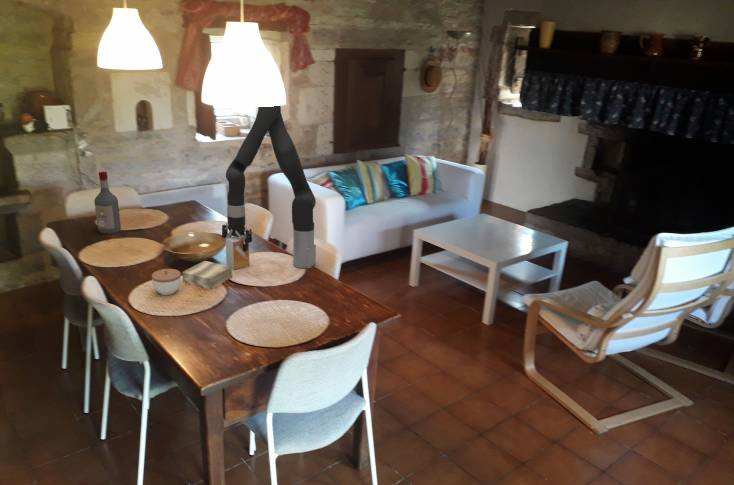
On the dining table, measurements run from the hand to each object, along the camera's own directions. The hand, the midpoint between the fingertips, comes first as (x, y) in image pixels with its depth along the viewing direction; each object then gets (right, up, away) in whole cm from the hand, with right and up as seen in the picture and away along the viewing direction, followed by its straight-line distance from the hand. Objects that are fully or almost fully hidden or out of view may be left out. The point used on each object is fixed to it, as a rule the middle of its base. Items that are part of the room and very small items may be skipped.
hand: (237, 249), depth 252 cm
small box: (0, -8, +3) cm, 8 cm away
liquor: (-72, +9, +36) cm, 81 cm away
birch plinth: (-9, -13, -12) cm, 20 cm away
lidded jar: (-22, -17, -24) cm, 37 cm away
